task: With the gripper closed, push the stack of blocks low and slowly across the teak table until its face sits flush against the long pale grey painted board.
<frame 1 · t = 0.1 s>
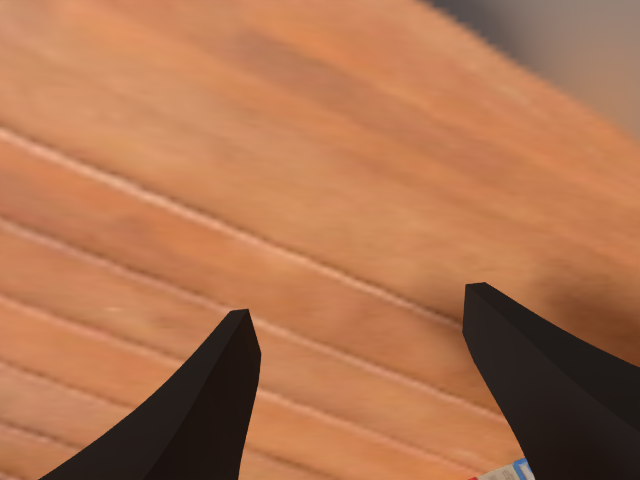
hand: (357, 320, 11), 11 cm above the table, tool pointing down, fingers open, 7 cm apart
stack of blocks: (540, 475, 28), on the table
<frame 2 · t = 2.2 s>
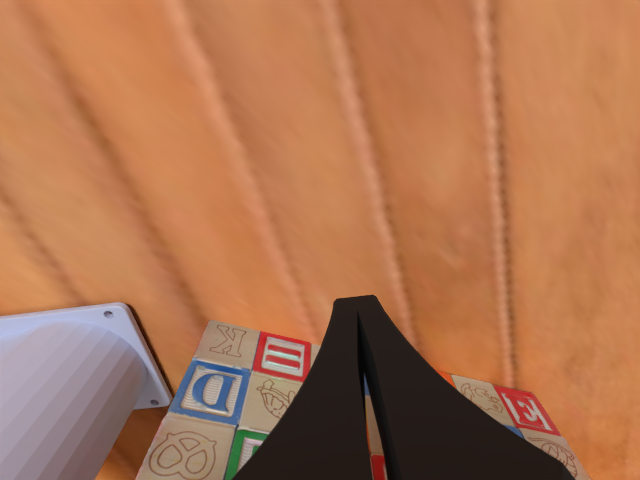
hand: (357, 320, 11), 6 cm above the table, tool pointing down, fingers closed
stack of blocks: (364, 387, 22), on the table
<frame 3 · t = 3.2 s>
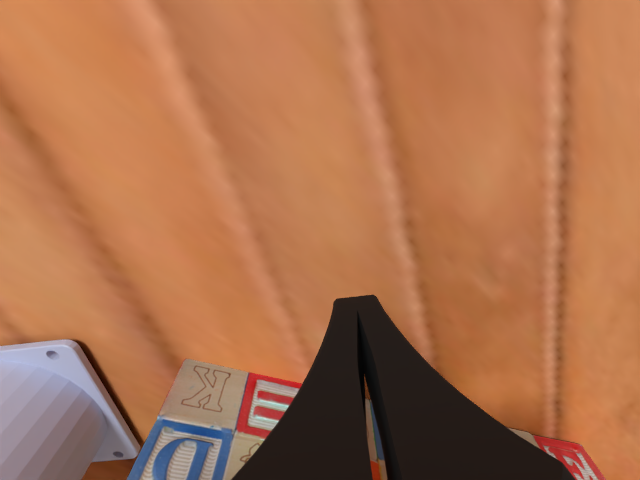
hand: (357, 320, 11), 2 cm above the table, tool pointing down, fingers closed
stack of blocks: (376, 434, 18), on the table
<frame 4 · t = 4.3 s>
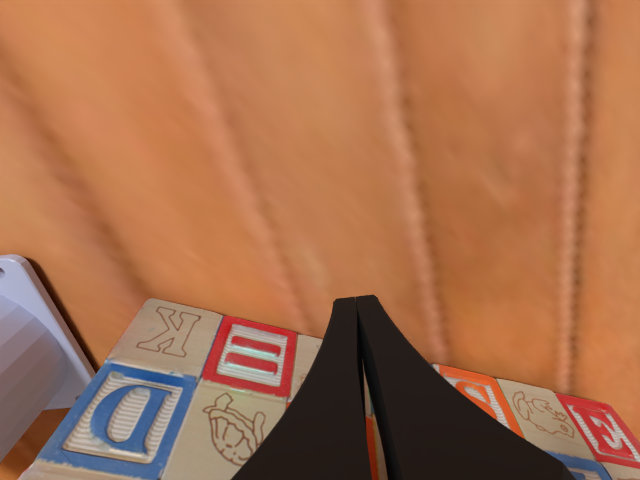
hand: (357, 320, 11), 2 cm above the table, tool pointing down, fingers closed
stack of blocks: (373, 390, 16), on the table, touching gripper
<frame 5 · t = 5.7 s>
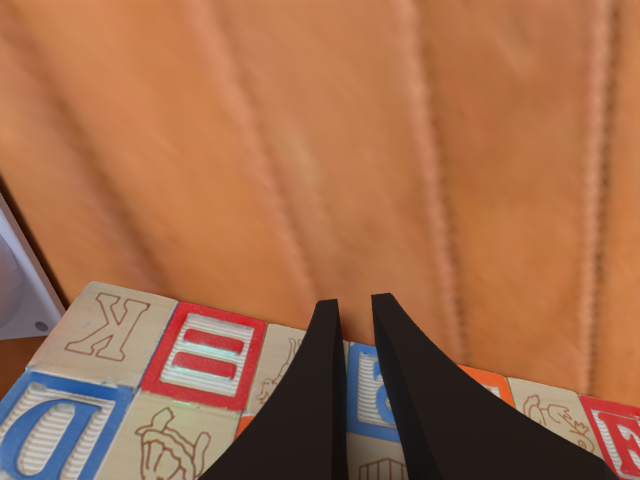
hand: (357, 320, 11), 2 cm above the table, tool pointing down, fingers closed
stack of blocks: (363, 372, 15), point 1 cm above the table, touching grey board, gripper
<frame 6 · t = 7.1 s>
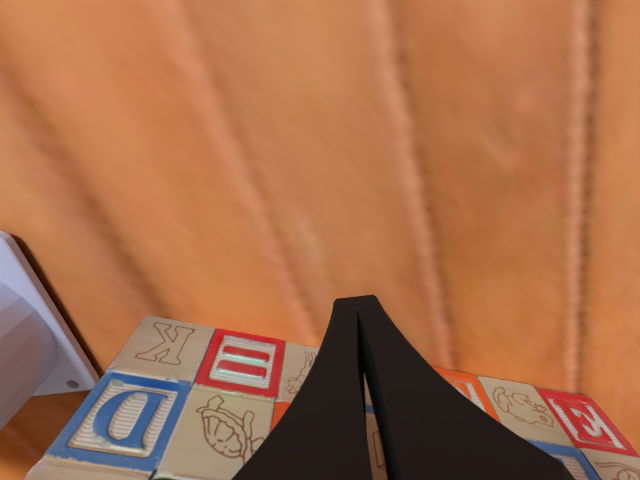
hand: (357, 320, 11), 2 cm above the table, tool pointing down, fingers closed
stack of blocks: (363, 396, 17), on the table
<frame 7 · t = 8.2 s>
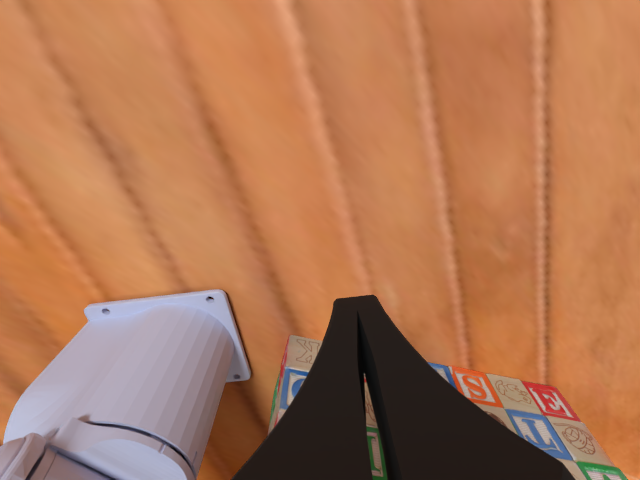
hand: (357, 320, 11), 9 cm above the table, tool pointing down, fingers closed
stack of blocks: (412, 385, 27), on the table
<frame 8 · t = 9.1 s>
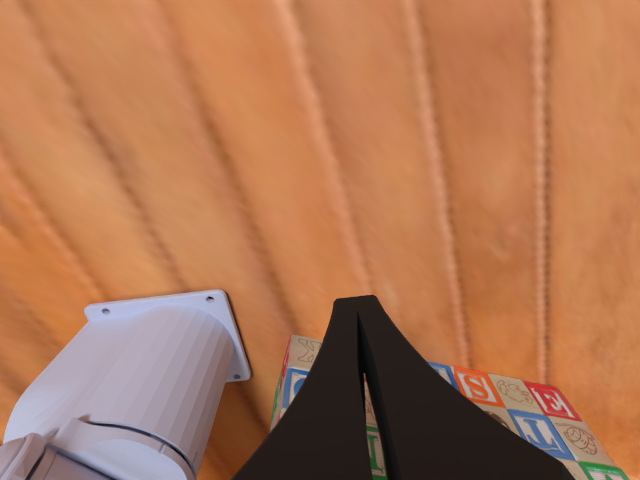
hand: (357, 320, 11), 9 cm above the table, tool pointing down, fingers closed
stack of blocks: (414, 385, 27), on the table
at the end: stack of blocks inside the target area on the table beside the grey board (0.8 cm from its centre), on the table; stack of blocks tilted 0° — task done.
